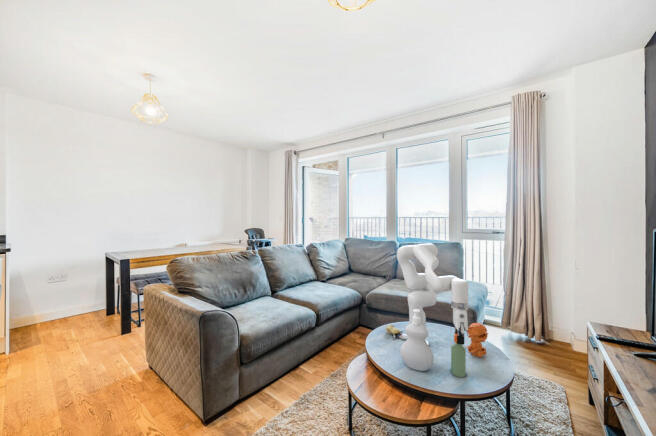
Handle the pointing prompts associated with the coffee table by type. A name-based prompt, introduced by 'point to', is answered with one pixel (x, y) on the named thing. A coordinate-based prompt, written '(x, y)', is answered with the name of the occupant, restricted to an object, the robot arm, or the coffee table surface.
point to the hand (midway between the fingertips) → (459, 341)
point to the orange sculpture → (477, 339)
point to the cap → (455, 337)
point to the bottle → (458, 360)
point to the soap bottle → (416, 346)
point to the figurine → (394, 331)
